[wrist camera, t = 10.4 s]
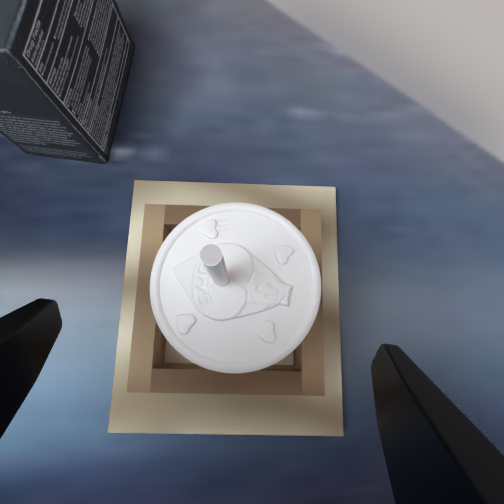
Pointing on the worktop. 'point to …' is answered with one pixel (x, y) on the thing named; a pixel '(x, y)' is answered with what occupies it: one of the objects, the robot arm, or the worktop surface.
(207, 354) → the smoothie
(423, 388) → the robot arm
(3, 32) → the small box
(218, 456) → the worktop surface
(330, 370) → the bottle stand
